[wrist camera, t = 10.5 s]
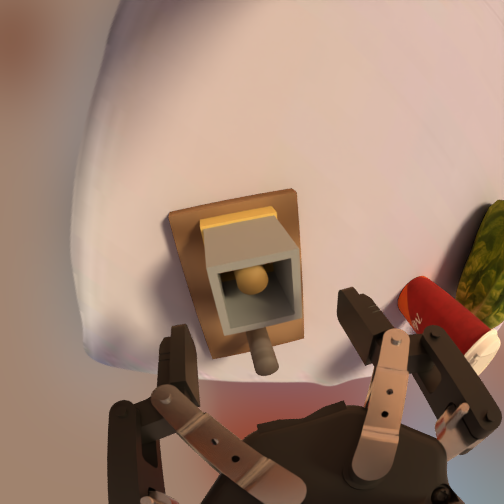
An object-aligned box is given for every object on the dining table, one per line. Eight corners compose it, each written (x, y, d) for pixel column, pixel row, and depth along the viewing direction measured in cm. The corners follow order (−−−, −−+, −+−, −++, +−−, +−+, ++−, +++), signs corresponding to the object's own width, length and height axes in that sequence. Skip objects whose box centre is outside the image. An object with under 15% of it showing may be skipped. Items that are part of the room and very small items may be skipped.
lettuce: (419, 312, 34) (466, 364, 24) (483, 179, 26) (548, 211, 16) (455, 315, 37) (494, 357, 27) (508, 206, 29) (558, 236, 19)
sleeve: (199, 219, 21) (201, 265, 15) (271, 205, 22) (302, 244, 15) (214, 280, 24) (221, 338, 18) (278, 267, 24) (305, 319, 18)
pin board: (169, 212, 22) (160, 249, 16) (291, 188, 22) (325, 216, 17) (211, 351, 29) (218, 401, 23) (300, 331, 30) (321, 376, 24)
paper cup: (380, 311, 32) (443, 394, 19) (416, 260, 29) (496, 332, 17) (411, 322, 34) (466, 390, 22) (442, 278, 32) (508, 340, 20)
